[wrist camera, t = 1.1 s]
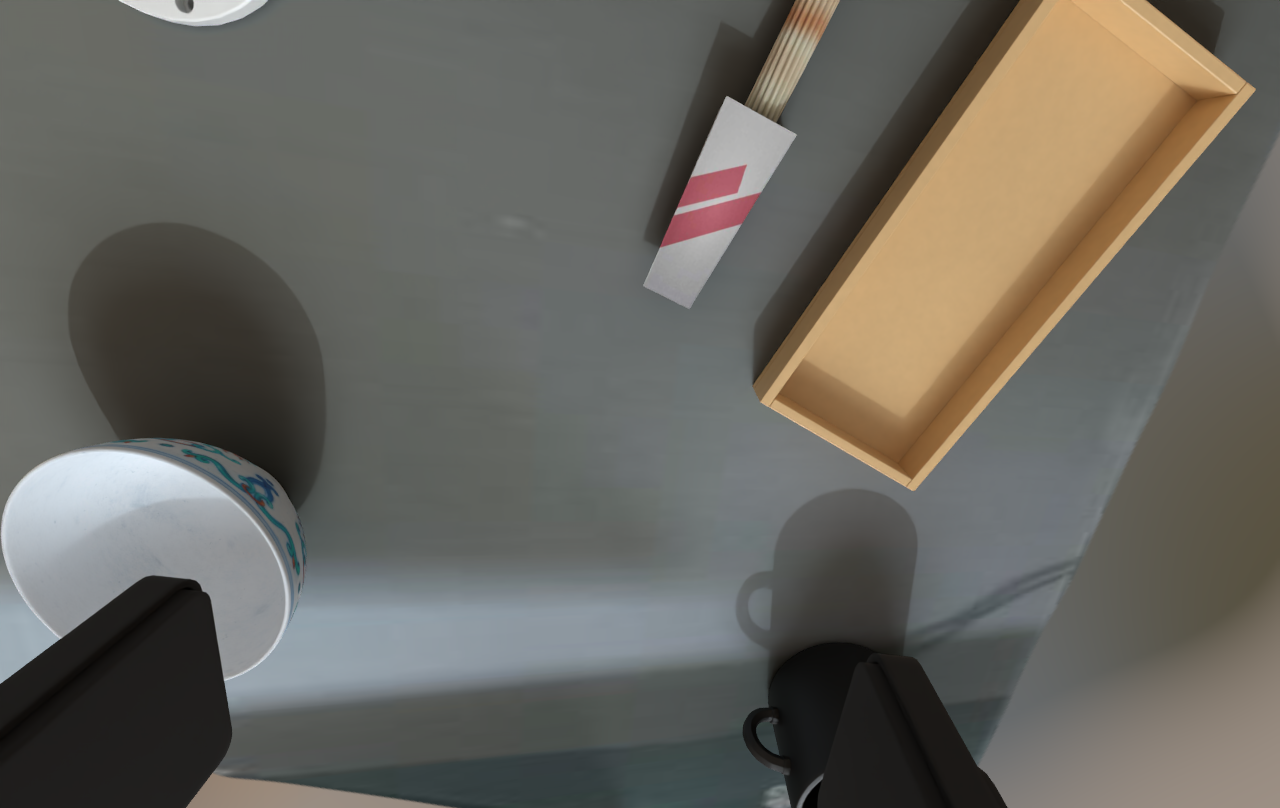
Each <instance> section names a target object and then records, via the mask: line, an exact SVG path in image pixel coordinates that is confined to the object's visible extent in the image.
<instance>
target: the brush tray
mask: <svg viewBox="0 0 1280 808" xmlns="http://www.w3.org/2000/svg"><path fill="white" fill-rule="evenodd" d="M1255 90H1256V89H1255V88H1254V87H1253V86H1251V85H1250V84H1249V83H1246V81H1245V80H1244V79H1242V78H1241V77H1240V76H1239V75H1238V74H1236V73H1235V72H1234V71H1233V70H1231V69H1230V68H1229V67H1228V66H1226V65H1225V64H1224V63H1223V62H1222V61H1220V60H1219V59H1218V58H1217V57H1215V56H1214V55H1213V54H1212V53H1210V52H1209V51H1208V50H1207V49H1206V48H1204V47H1203V46H1202V45H1201V44H1199V43H1198V42H1197V41H1196V40H1194V39H1193V38H1192V37H1191V36H1189V35H1188V34H1187V33H1186V32H1185V31H1183V30H1182V29H1181V28H1180V27H1178V26H1177V25H1176V24H1175V23H1173V22H1172V21H1171V20H1170V19H1169V18H1167V17H1166V16H1165V15H1164V14H1162V13H1161V12H1160V11H1159V10H1157V9H1156V8H1155V7H1154V6H1152V5H1151V4H1150V3H1149V2H1148V1H1146V0H1020V1H1019V2H1018V4H1017V5H1016V7H1015V8H1014V10H1013V11H1012V13H1011V14H1010V15H1009V17H1008V18H1007V20H1006V21H1005V23H1004V24H1003V26H1002V27H1001V28H1000V30H999V31H998V33H997V34H996V36H995V37H994V38H993V40H992V41H991V43H990V44H989V46H988V47H987V49H986V50H985V51H984V53H983V54H982V56H981V57H980V59H979V60H978V62H977V63H976V64H975V66H974V67H973V69H972V70H971V72H970V73H969V75H968V76H967V77H966V79H965V80H964V82H963V83H962V85H961V86H960V88H959V89H958V90H957V92H956V93H955V95H954V96H953V98H952V99H951V100H950V102H949V103H948V105H947V106H946V108H945V109H944V111H943V112H942V113H941V115H940V116H939V118H938V119H937V121H936V122H935V124H934V125H933V126H932V128H931V129H930V131H929V132H928V134H927V135H926V137H925V138H924V139H923V141H922V142H921V144H920V145H919V147H918V148H917V149H916V151H915V152H914V154H913V155H912V157H911V158H910V160H909V161H908V162H907V164H906V165H905V167H904V168H903V170H902V171H901V173H900V174H899V175H898V177H897V178H896V180H895V181H894V183H893V184H892V186H891V187H890V188H889V190H888V191H887V193H886V194H885V196H884V197H883V199H882V200H881V201H880V203H879V204H878V206H877V207H876V209H875V210H874V211H873V213H872V214H871V216H870V217H869V219H868V220H867V222H866V223H865V224H864V226H863V227H862V229H861V230H860V232H859V233H858V235H857V236H856V237H855V239H854V240H853V242H852V243H851V245H850V246H849V248H848V249H847V250H846V252H845V253H844V255H843V256H842V258H841V259H840V261H839V262H838V263H837V265H836V266H835V268H834V269H833V271H832V272H831V273H830V275H829V276H828V278H827V279H826V281H825V282H824V284H823V285H822V286H821V288H820V289H819V291H818V292H817V294H816V295H815V297H814V298H813V299H812V301H811V302H810V304H809V305H808V307H807V308H806V310H805V311H804V312H803V314H802V315H801V317H800V318H799V320H798V321H797V323H796V324H795V325H794V327H793V328H792V330H791V331H790V333H789V334H788V335H787V337H786V338H785V340H784V341H783V343H782V344H781V346H780V347H779V348H778V350H777V351H776V353H775V354H774V356H773V357H772V359H771V360H770V361H769V363H768V364H767V366H766V367H765V369H764V370H763V372H762V373H761V374H760V376H759V377H758V379H757V380H756V382H755V383H754V385H753V388H754V390H755V392H756V394H757V396H758V398H759V400H760V402H761V403H763V404H764V405H766V406H768V407H770V408H771V409H773V410H775V411H777V412H778V413H780V414H782V415H783V416H785V417H787V418H789V419H790V420H792V421H794V422H795V423H797V424H799V425H801V426H802V427H804V428H806V429H807V430H809V431H811V432H813V433H814V434H816V435H818V436H819V437H821V438H823V439H825V440H826V441H828V442H830V443H831V444H833V445H835V446H837V447H838V448H840V449H842V450H843V451H845V452H847V453H849V454H850V455H852V456H854V457H855V458H857V459H859V460H861V461H862V462H864V463H866V464H867V465H869V466H871V467H873V468H874V469H876V470H878V471H879V472H881V473H883V474H885V475H886V476H888V477H890V478H891V479H893V480H895V481H897V482H898V483H900V484H902V485H903V486H906V487H907V488H908V489H910V490H912V491H915V490H916V488H917V487H918V486H919V485H920V484H921V483H922V481H923V480H924V479H925V478H926V477H927V475H928V474H929V473H930V472H931V471H932V470H933V468H934V467H935V466H936V465H937V464H938V463H939V461H940V460H941V459H942V458H943V457H944V456H945V454H946V453H947V452H948V451H949V450H950V448H951V447H952V446H953V445H954V444H955V443H956V441H957V440H958V439H959V438H960V437H961V436H962V434H963V433H964V432H965V431H966V430H967V428H968V427H969V426H970V425H971V424H972V423H973V421H974V420H975V419H976V418H977V417H978V416H979V414H980V413H981V412H982V411H983V410H984V409H985V407H986V406H987V405H988V404H989V403H990V401H991V400H992V399H993V398H994V397H995V396H996V394H997V393H998V392H999V391H1000V390H1001V389H1002V387H1003V386H1004V385H1005V384H1006V383H1007V381H1008V380H1009V379H1010V378H1011V377H1012V376H1013V374H1014V373H1015V372H1016V371H1017V370H1018V369H1019V367H1020V366H1021V365H1022V364H1023V363H1024V362H1025V360H1026V359H1027V358H1028V357H1029V356H1030V354H1031V353H1032V352H1033V351H1034V350H1035V349H1036V347H1037V346H1038V345H1039V344H1040V343H1041V342H1042V340H1043V339H1044V338H1045V337H1046V336H1047V334H1048V333H1049V332H1050V331H1051V330H1052V329H1053V327H1054V326H1055V325H1056V324H1057V323H1058V322H1059V320H1060V319H1061V318H1062V317H1063V316H1064V315H1065V313H1066V312H1067V311H1068V310H1069V309H1070V307H1071V306H1072V305H1073V304H1074V303H1075V302H1076V300H1077V299H1078V298H1079V297H1080V296H1081V295H1082V293H1083V292H1084V291H1085V290H1086V289H1087V287H1088V286H1089V285H1090V284H1091V283H1092V282H1093V280H1094V279H1095V278H1096V277H1097V276H1098V275H1099V273H1100V272H1101V271H1102V270H1103V269H1104V268H1105V266H1106V265H1107V264H1108V263H1109V262H1110V260H1111V259H1112V258H1113V257H1114V256H1115V255H1116V253H1117V252H1118V251H1119V250H1120V249H1121V248H1122V246H1123V245H1124V244H1125V243H1126V242H1127V240H1128V239H1129V238H1130V237H1131V236H1132V235H1133V233H1134V232H1135V231H1136V230H1137V229H1138V228H1139V226H1140V225H1141V224H1142V223H1143V222H1144V221H1145V219H1146V218H1147V217H1148V216H1149V215H1150V213H1151V212H1152V211H1153V210H1154V209H1155V208H1156V206H1157V205H1158V204H1159V203H1160V202H1161V201H1162V199H1163V198H1164V197H1165V196H1166V195H1167V194H1168V192H1169V191H1170V190H1171V189H1172V188H1173V186H1174V185H1175V184H1176V183H1177V182H1178V181H1179V179H1180V178H1181V177H1182V176H1183V175H1184V174H1185V172H1186V171H1187V170H1188V169H1189V168H1190V166H1191V165H1192V164H1193V163H1194V162H1195V161H1196V159H1197V158H1198V157H1199V156H1200V155H1201V154H1202V152H1203V151H1204V150H1205V149H1206V148H1207V147H1208V145H1209V144H1210V143H1211V142H1212V141H1213V139H1214V138H1215V137H1216V136H1217V135H1218V134H1219V132H1220V131H1221V130H1222V129H1223V128H1224V127H1225V125H1226V124H1227V123H1228V122H1229V121H1230V119H1231V118H1232V117H1233V116H1234V115H1235V114H1236V112H1237V111H1238V110H1239V109H1240V108H1241V107H1242V105H1243V104H1244V103H1245V102H1246V101H1247V100H1248V98H1249V97H1250V96H1251V95H1252V94H1253V92H1254V91H1255Z"/></svg>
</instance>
